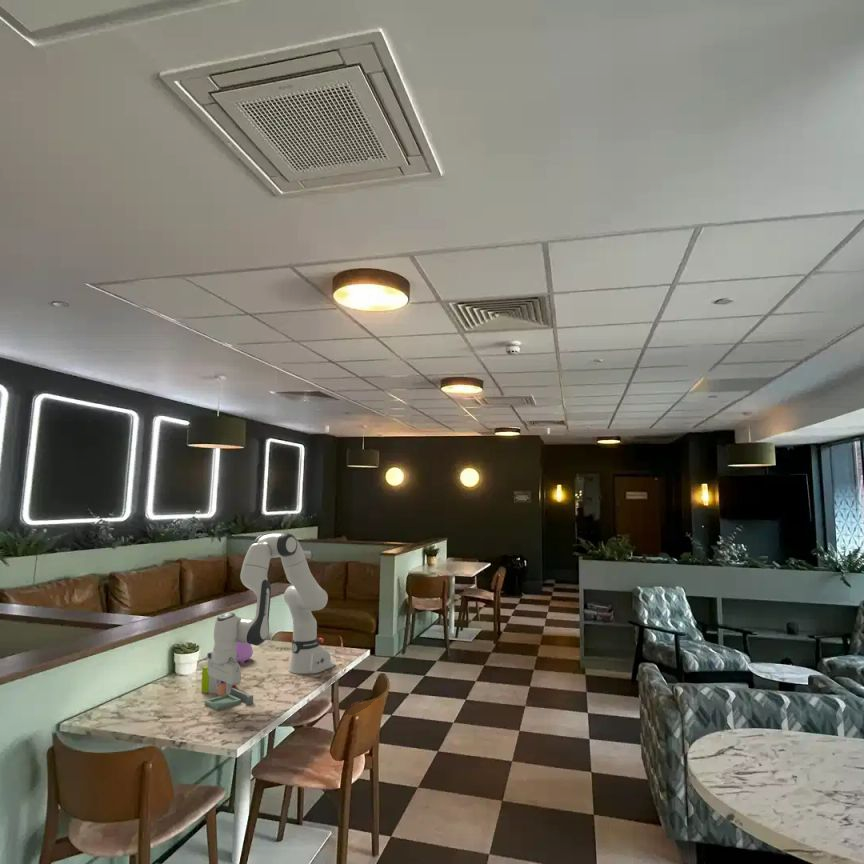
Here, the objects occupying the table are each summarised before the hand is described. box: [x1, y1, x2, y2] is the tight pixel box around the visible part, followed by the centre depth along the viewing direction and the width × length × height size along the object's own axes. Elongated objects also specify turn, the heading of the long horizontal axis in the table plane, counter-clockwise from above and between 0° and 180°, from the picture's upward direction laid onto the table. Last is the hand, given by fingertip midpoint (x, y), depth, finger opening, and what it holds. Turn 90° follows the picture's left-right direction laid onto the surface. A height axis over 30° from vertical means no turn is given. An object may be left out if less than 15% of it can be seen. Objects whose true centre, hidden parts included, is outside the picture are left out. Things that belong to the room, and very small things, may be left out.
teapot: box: [236, 642, 254, 665], centre depth 281 cm, size 20×14×12 cm
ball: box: [216, 683, 227, 697], centre depth 224 cm, size 5×5×5 cm
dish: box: [204, 694, 242, 711], centre depth 223 cm, size 10×10×2 cm
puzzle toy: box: [201, 662, 237, 694], centre depth 242 cm, size 10×10×10 cm
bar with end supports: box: [230, 687, 254, 706], centre depth 229 cm, size 2×19×3 cm, turn 49°
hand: (223, 691), depth 224 cm, fingers closed on ball, 5 cm apart
